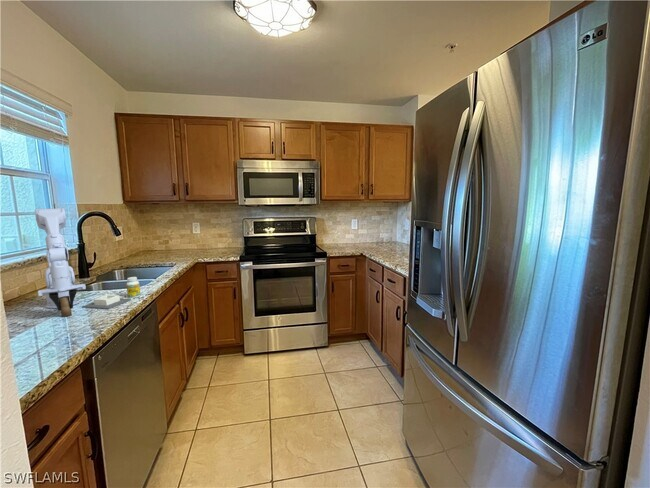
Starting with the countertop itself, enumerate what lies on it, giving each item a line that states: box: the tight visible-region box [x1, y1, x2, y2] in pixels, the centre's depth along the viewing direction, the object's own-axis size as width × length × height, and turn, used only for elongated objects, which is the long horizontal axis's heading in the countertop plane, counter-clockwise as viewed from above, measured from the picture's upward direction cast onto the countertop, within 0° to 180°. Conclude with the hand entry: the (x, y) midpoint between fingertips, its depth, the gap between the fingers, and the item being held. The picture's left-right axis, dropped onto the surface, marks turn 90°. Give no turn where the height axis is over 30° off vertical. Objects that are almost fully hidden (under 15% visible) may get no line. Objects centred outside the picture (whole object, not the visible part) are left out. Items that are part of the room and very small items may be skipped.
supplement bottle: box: [125, 276, 141, 299], centre depth 147 cm, size 5×5×10 cm
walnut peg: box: [59, 296, 73, 318], centre depth 123 cm, size 3×3×8 cm
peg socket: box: [81, 294, 132, 310], centre depth 137 cm, size 14×12×3 cm
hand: (65, 309), depth 123 cm, fingers closed on walnut peg, 3 cm apart
